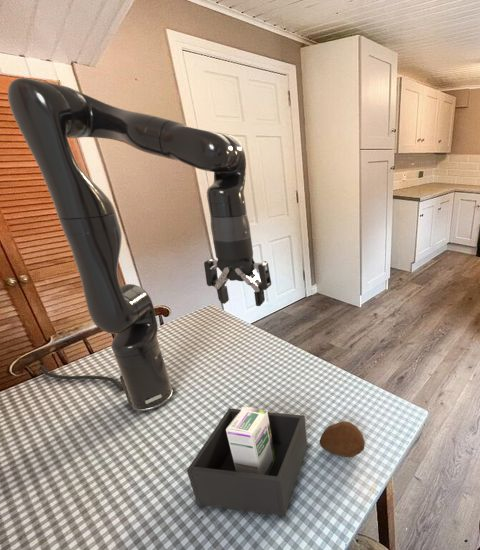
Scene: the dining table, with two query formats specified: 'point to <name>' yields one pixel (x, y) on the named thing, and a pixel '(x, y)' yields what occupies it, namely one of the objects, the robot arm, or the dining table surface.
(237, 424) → the syrup box
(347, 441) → the potato
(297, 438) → the basket
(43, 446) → the dining table surface
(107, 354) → the dining table surface
